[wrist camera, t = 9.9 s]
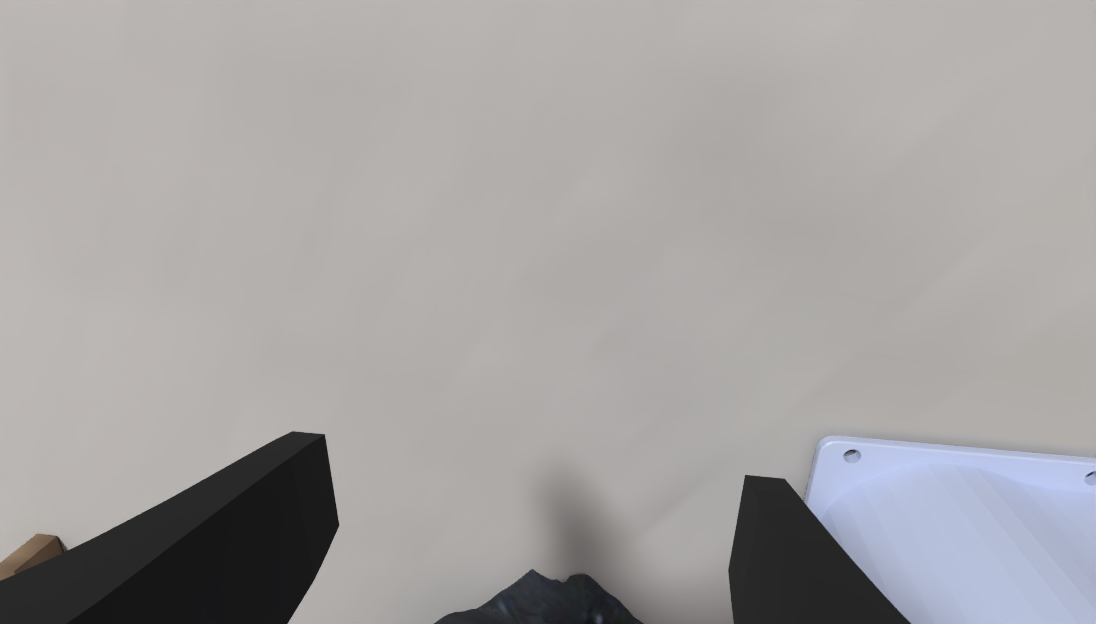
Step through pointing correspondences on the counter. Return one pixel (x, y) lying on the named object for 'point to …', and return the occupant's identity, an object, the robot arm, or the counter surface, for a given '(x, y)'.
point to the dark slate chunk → (547, 604)
